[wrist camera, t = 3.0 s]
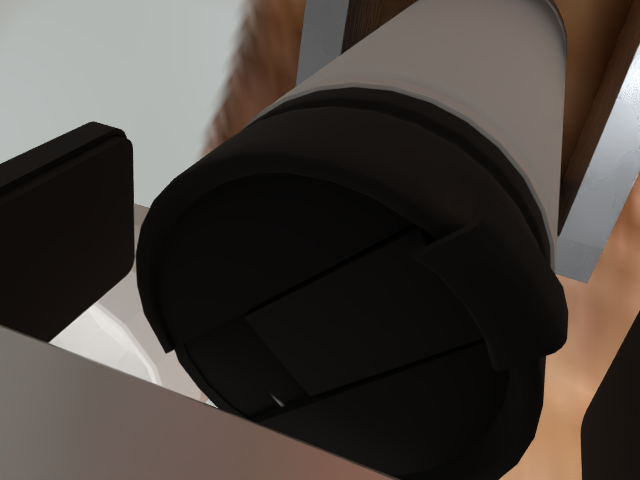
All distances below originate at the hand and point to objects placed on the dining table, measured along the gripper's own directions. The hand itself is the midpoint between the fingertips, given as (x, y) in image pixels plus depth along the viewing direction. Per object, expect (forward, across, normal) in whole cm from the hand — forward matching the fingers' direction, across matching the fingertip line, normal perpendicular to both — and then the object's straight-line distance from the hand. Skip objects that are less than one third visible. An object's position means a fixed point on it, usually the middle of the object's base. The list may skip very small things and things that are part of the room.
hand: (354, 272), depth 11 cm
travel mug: (+17, 0, -1) cm, 17 cm away
